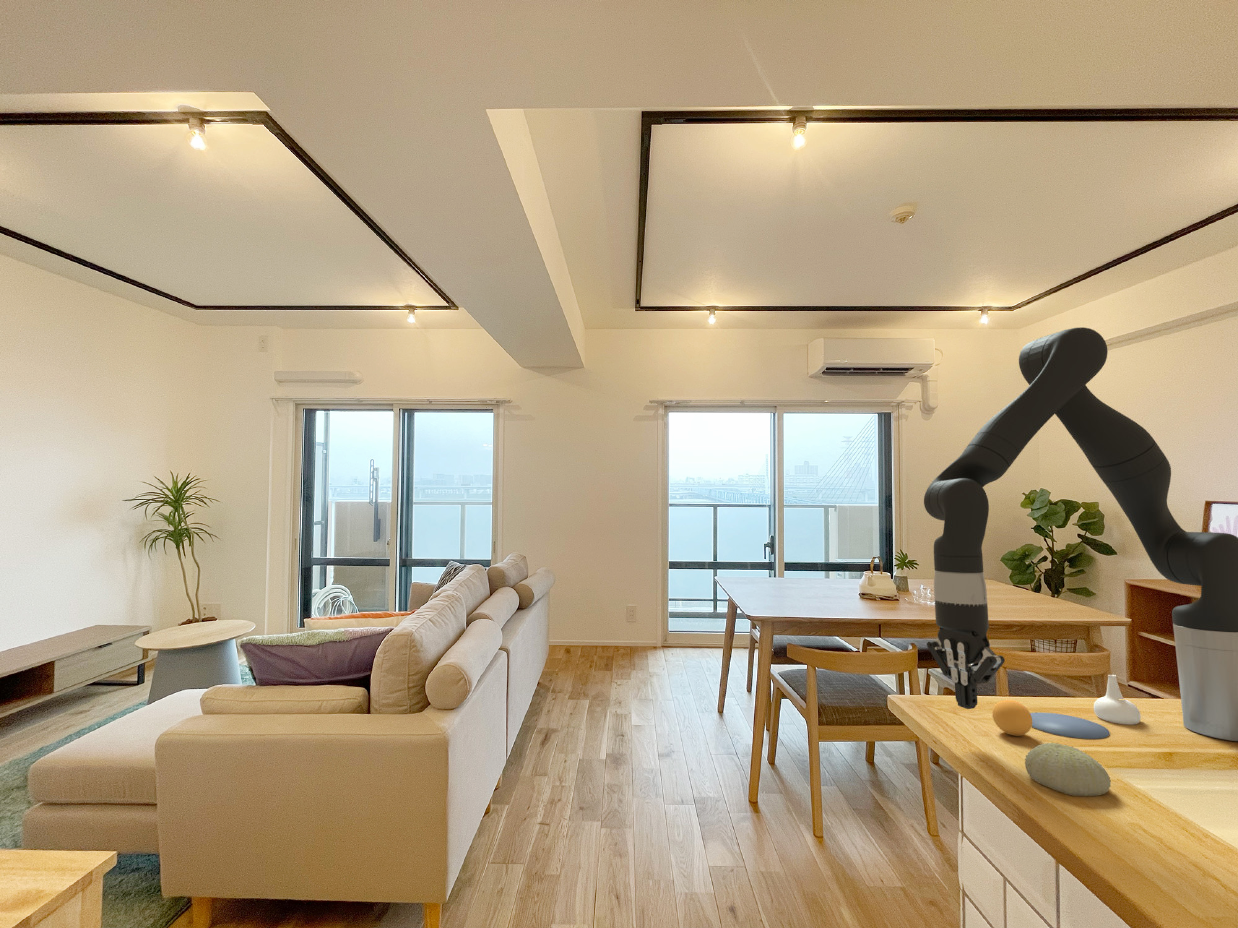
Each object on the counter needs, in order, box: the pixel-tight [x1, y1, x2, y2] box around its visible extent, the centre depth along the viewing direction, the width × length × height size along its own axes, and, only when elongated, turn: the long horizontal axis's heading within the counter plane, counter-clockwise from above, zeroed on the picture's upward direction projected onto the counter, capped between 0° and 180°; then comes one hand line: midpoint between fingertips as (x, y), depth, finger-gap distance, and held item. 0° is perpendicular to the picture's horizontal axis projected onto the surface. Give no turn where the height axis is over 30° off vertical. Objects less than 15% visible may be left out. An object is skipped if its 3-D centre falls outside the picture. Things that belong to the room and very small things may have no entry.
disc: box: [1030, 712, 1111, 740], centre depth 98 cm, size 12×12×1 cm
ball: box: [991, 699, 1033, 737], centre depth 94 cm, size 6×6×6 cm
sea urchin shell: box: [1024, 742, 1112, 797], centre depth 77 cm, size 9×8×8 cm
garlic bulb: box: [1093, 674, 1142, 726], centre depth 101 cm, size 6×6×8 cm
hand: (966, 706), depth 91 cm, fingers closed
